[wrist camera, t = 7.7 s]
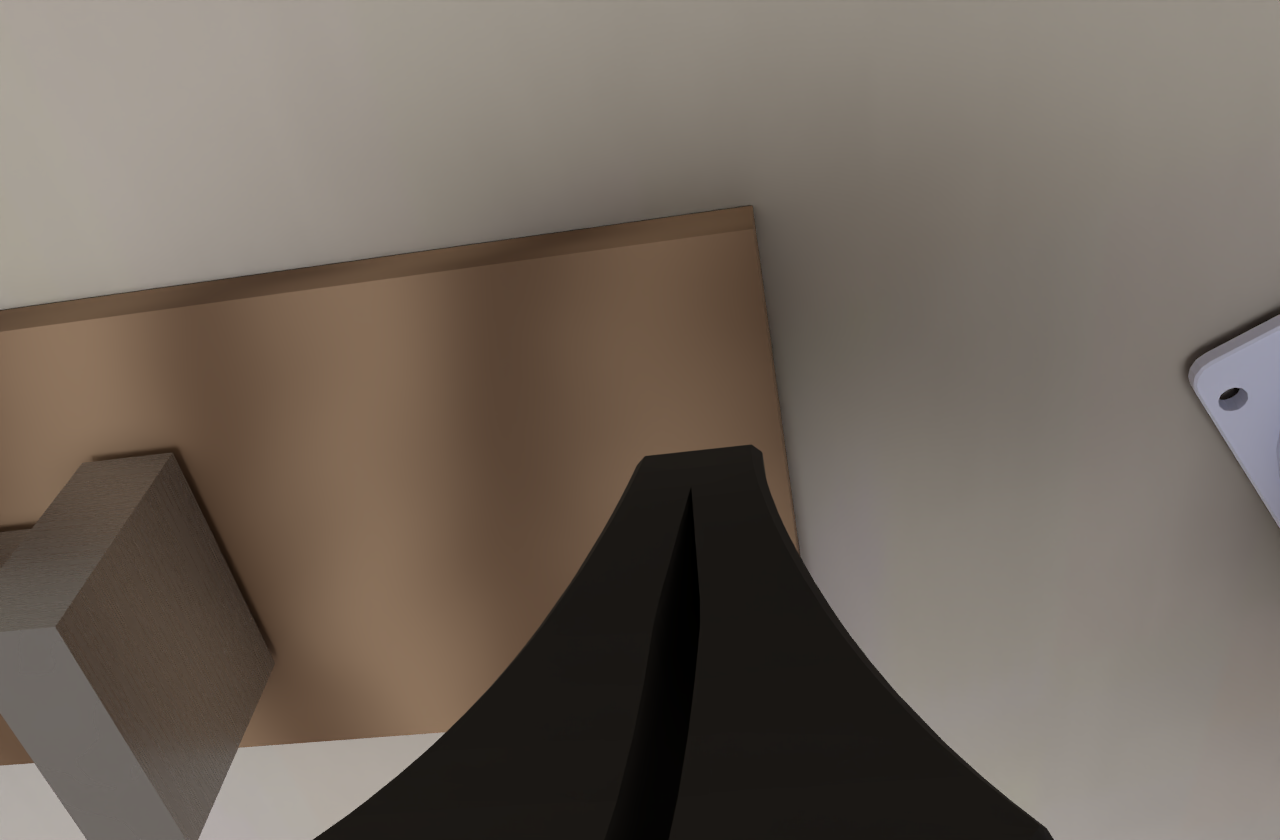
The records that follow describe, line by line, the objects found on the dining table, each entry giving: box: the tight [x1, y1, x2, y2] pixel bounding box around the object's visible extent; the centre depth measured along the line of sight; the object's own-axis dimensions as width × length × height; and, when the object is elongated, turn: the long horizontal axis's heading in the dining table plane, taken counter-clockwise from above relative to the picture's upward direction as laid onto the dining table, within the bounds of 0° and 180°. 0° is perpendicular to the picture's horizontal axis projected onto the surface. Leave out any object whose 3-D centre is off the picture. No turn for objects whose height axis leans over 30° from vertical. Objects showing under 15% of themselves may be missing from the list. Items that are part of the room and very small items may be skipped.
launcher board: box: [0, 206, 800, 765], centre depth 26 cm, size 23×12×1 cm, turn 100°
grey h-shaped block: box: [0, 452, 275, 840], centre depth 24 cm, size 8×6×5 cm
